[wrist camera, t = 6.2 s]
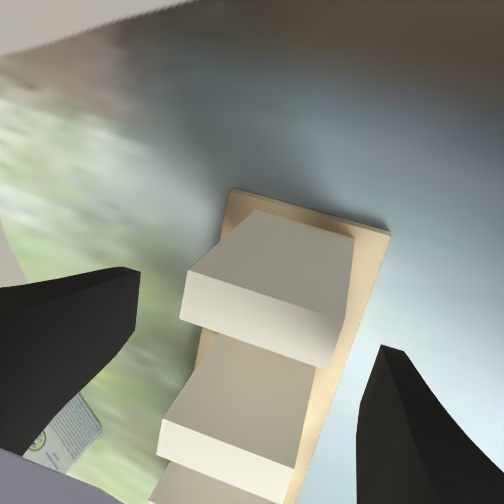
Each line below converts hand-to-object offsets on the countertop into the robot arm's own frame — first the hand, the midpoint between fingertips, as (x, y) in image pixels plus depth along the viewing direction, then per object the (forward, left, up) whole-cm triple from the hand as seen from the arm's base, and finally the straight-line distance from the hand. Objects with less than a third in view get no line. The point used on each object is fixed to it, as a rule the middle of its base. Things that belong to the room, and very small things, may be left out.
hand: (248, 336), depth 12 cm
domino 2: (0, +6, -10) cm, 11 cm away
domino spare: (0, 0, -10) cm, 10 cm away
